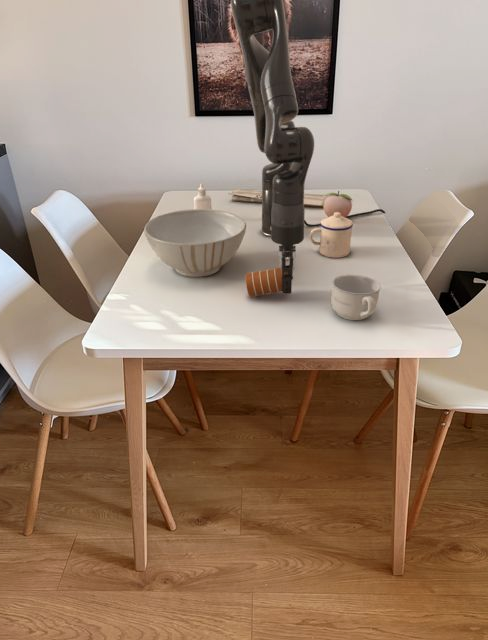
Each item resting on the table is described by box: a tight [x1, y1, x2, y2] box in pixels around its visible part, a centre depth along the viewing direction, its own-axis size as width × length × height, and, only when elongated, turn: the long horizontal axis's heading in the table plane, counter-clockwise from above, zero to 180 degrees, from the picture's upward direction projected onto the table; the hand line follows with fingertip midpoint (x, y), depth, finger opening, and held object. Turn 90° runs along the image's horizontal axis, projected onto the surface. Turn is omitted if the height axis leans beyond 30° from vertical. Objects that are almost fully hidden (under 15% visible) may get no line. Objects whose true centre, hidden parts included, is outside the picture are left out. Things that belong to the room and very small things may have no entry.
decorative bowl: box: [143, 208, 247, 278], centre depth 151 cm, size 27×27×12 cm
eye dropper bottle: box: [193, 183, 213, 210], centre depth 183 cm, size 4×6×12 cm
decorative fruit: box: [323, 190, 353, 217], centre depth 181 cm, size 9×8×10 cm
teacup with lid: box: [308, 212, 354, 259], centre depth 159 cm, size 12×9×12 cm
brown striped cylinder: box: [244, 267, 288, 298], centre depth 136 cm, size 10×6×6 cm, turn 87°
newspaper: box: [227, 188, 329, 208], centre depth 201 cm, size 35×12×4 cm, turn 76°
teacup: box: [330, 274, 381, 321], centre depth 127 cm, size 14×11×8 cm
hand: (286, 286), depth 136 cm, fingers closed on brown striped cylinder, 6 cm apart
